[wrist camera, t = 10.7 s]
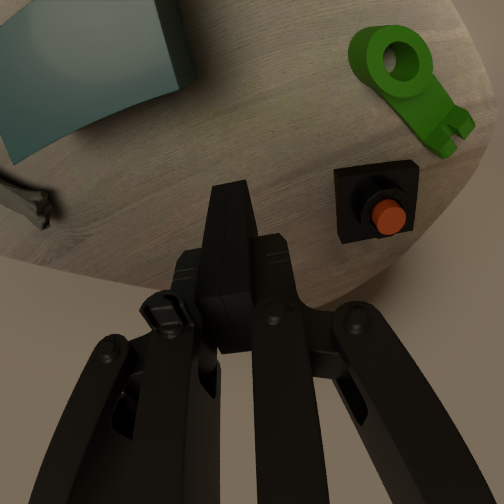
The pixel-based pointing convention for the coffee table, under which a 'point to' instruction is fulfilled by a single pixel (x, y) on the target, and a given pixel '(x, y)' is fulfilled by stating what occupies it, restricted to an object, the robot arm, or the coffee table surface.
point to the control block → (373, 197)
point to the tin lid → (78, 67)
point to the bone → (27, 203)
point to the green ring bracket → (409, 85)
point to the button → (388, 216)
